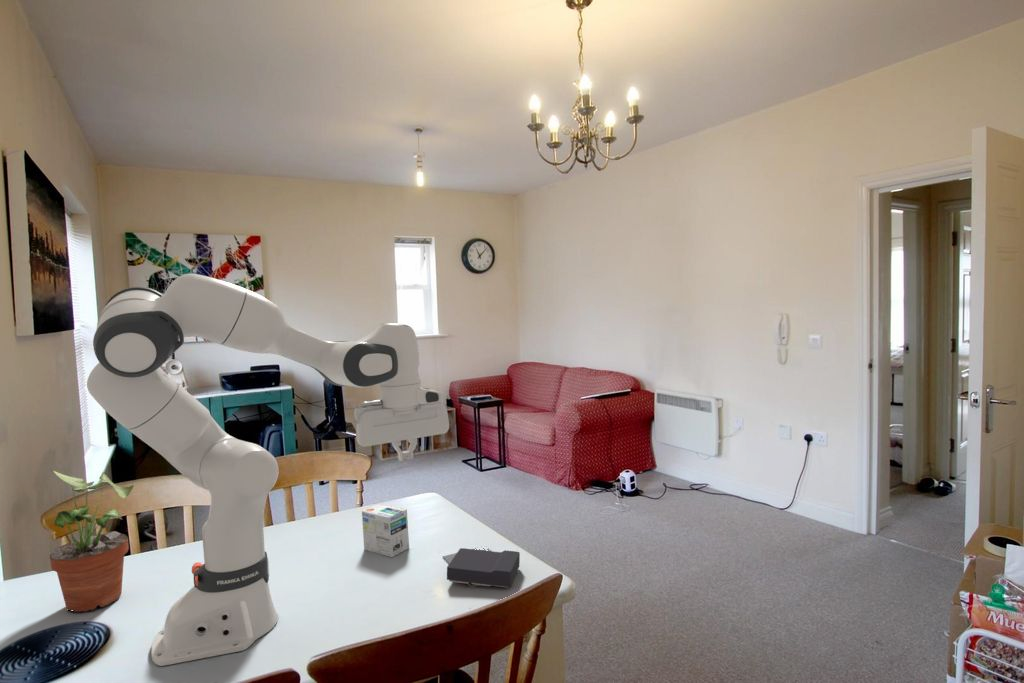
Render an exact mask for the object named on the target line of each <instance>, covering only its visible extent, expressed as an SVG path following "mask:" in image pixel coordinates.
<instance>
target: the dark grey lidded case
mask: <svg viewBox="0 0 1024 683" xmlns="http://www.w3.org/2000/svg"><path fill="white" fill-rule="evenodd" d="M456 553H457V554H456V555H455V557H454V558H453V559H452V561H451V562H450V564H448V565H447V566H446V580H448V581H449V582H450V583H459V584H467V585H468V584H469V583H471V584H475V585H478V586H484V587H491V586H493V587H501V588H510V587H511V588H512V585H513V582H514V580H515V579H516V578H515V577H516V575H517V574H518V571H519V569H520V568H519V567H520V562H521V561H520V556H521V555H520V552H519V551H517V550H516V551H514V550H505V549H504V550H503V551H493V550H491V551H483V550H474V548H465V547H464V548H462V547H461V548H459V549H458V551H457V552H456ZM516 573H517V574H516Z"/></svg>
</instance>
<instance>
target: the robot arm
mask: <svg viewBox="0 0 1024 683" xmlns="http://www.w3.org/2000/svg"><path fill="white" fill-rule="evenodd" d="M187 337H196V338H201V339H204V340H207V341H210V342H213V343H216V344H217V345H221V346H225V347H227V348H230V349H235V350H237V351H243V352H248V353H253V354H273V355H278V356H280V357H284V358H286V359H289V360H292V361H294V362H297V363H299V364H302V365H304V366H308V367H310V368H312V369H313V370H315V371H316V372H318V373H319V374H320V375H321V376H322V377H323V378H324V379H325V380H326V381H327V383H330V384H331V385H335V386H336V387H337V386H338V387H351V388H353V387H354V388H362V389H363V388H369V387H372V386H375V385H379V393H380V394H379V395H380V399H377V400H371V401H362V402H360V403H359V404H358V405H356V407H355V408H354V410H353V417H354V421H355V422H356V429H355V435H356V436H355V438H356V442H357V444H358V445H359V446H361V447H363V448H364V447H365V448H366V447H370V446H377V445H384V444H388V443H391V446H392V447H393V449H394V450H395V451H396V452H397V459H398V461H399V462H404V461H410V460H414V451H415V448H416V447H417V445H418V438H419V439H420V438H426V437H432V436H437V435H443V434H447V432H448V431H449V429H450V421H449V420H450V419H449V413H448V409H447V407H446V405H445V404H444V403H443V400H444V394H443V393H442V392H441V391H438V390H435V389H430V388H428V387H422V383H421V382H422V381H421V377H420V375H419V366H420V354H419V353H420V352H419V345H418V339H417V335H416V333H415V331H414V329H413V327H411V326H410V325H407V324H404V323H394V322H393V323H391V322H386V323H385V322H384V323H381V324H379V325H378V326H377V327H376V328H375V329H374V330H373V331H372V332H370V333H369V334H367V335H365V336H363V337H360V338H359V339H357V340H356V341H355V340H353V341H350V340H349V341H347V340H334V341H332V340H331V341H330V340H325V339H322V338H319V337H317V336H315V335H312V334H309V333H307V332H305V331H303V330H300V329H298V328H296V327H294V326H292V325H291V324H289V323H288V322H287V321H286V319H285V317H284V313H283V312H282V309H281V308H280V307H279V305H277V304H275V303H274V302H272V301H271V300H269V299H268V298H266V297H264V296H263V295H260V294H258V293H256V292H254V291H252V290H250V289H248V288H245V287H242V286H239V285H237V284H234V283H232V282H228V281H225V280H222V279H219V278H218V279H217V278H215V277H211V276H207V275H202V274H198V273H184V274H181V275H180V276H178V277H177V278H175V279H174V280H173V281H171V283H170V284H169V285H168V287H167V289H166V290H165V293H163V294H162V293H161V292H159V291H157V290H155V289H153V288H150V287H147V286H130V287H127V288H123V289H122V290H119V291H118V292H116V293H115V294H114V295H112V296H111V297H110V299H108V301H107V302H106V304H105V307H104V308H103V310H102V311H101V313H100V314H99V317H98V319H97V323H96V330H95V332H94V335H93V338H92V339H93V340H92V341H93V342H92V343H93V345H92V346H93V351H94V355H95V357H96V359H97V361H98V363H97V364H96V365H94V367H93V368H92V370H91V371H90V373H89V375H88V377H87V381H86V388H87V390H88V393H89V394H90V395H91V397H93V399H94V400H95V401H96V403H98V404H99V405H100V407H101V408H102V409H103V410H105V412H106V413H107V414H108V415H109V416H110V417H112V418H113V420H115V421H116V422H117V423H119V424H120V425H121V426H122V427H123V428H125V429H126V430H128V431H129V432H130V433H131V434H133V435H134V436H136V437H137V438H138V439H140V441H142V442H143V443H145V444H147V445H148V446H149V447H150V448H152V449H153V450H154V451H155V452H157V453H158V454H159V455H161V456H162V457H163V458H164V459H165V460H166V461H167V462H168V463H169V464H170V465H171V466H172V467H173V468H175V470H177V471H178V472H179V473H180V474H182V475H183V476H184V477H185V478H186V479H187V480H188V481H190V482H191V483H192V484H194V485H195V486H196V487H198V488H201V489H203V490H206V491H208V493H209V495H210V507H209V512H208V518H207V520H206V521H205V523H204V524H203V525H202V529H201V533H202V536H201V537H202V548H203V550H202V551H203V562H204V563H202V562H200V561H197V562H195V563H193V565H192V566H191V574H192V575H193V587H191V588H190V589H189V590H188V591H187V592H186V593H185V594H183V596H181V597H180V598H179V599H178V600H176V601H175V602H174V603H173V605H172V606H171V607H170V609H169V611H168V613H167V615H166V618H165V620H164V626H163V628H161V630H159V631H158V633H157V634H156V635H155V637H154V638H153V641H152V644H151V651H150V654H151V655H150V656H151V660H152V662H153V663H154V664H155V665H157V666H160V667H164V666H169V665H174V664H179V663H180V664H181V663H184V662H190V661H195V660H201V659H205V658H210V657H212V658H213V657H217V656H221V655H228V654H231V653H237V652H242V651H245V650H247V649H249V647H251V645H253V643H254V642H255V641H257V640H258V639H259V638H260V637H262V636H264V635H266V634H267V633H268V632H270V631H271V630H272V629H273V628H274V627H275V626H276V624H277V622H278V620H279V616H278V613H277V611H276V608H275V605H274V602H273V598H272V595H271V591H270V587H269V586H270V584H269V581H270V564H269V557H268V554H267V552H266V551H265V550H266V549H265V535H264V533H265V531H264V512H265V507H266V503H267V502H266V501H267V498H268V494H269V492H271V490H272V489H273V488H274V487H275V484H276V483H277V480H278V477H279V471H280V470H279V464H278V460H276V457H275V456H274V455H273V454H272V453H271V452H269V451H268V450H267V449H265V448H264V447H262V446H261V445H259V444H258V443H254V442H250V441H246V440H242V439H238V438H236V437H234V436H232V435H230V434H229V433H227V432H226V431H225V430H224V429H223V428H222V427H221V426H220V425H219V424H218V423H217V421H215V419H214V418H213V417H212V415H211V412H210V409H208V408H207V407H206V406H205V405H203V404H202V403H201V402H200V401H199V400H198V399H196V398H195V397H194V395H192V394H191V393H189V392H188V391H187V390H186V389H185V388H184V387H182V386H181V385H180V384H179V383H178V382H176V381H175V380H174V379H173V378H172V377H171V376H169V375H168V373H166V372H165V371H164V370H163V369H162V368H161V367H162V366H163V365H164V363H165V362H167V361H168V359H169V358H171V356H172V355H173V354H175V353H176V352H177V350H178V349H180V348H181V347H182V346H183V344H184V342H185V339H184V338H187ZM402 441H408V443H409V446H408V449H407V450H403V451H402V449H401V448H400V446H402Z"/></svg>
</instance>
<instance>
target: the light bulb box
mask: <svg viewBox="0 0 1024 683" xmlns="http://www.w3.org/2000/svg"><path fill="white" fill-rule="evenodd" d="M361 521H362V533H363V534H362V535H363V537H362V538H363V549H364V550H365V551H368V552H372V553H376V554H379V555H383V556H386V557H389V558H394V557H395V556H397V555H399V554H401V553H402V552H405V551H406V550H408V549H410V538H409V527H408V526H409V523H408V509H406V508H401V507H400V508H399V507H395V506H394V507H393V506H392V505H391V506H390V505H385V504H381V503H378V504H375V505H373V506H371V507H369V508H366V509H363V510H362V511H361Z"/></svg>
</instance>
